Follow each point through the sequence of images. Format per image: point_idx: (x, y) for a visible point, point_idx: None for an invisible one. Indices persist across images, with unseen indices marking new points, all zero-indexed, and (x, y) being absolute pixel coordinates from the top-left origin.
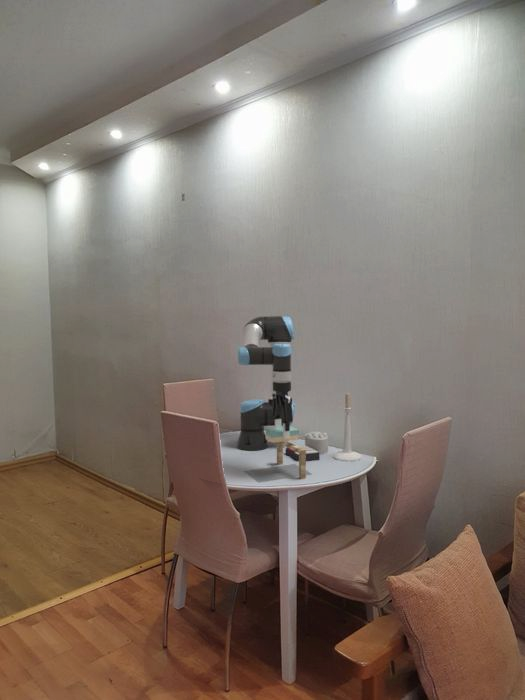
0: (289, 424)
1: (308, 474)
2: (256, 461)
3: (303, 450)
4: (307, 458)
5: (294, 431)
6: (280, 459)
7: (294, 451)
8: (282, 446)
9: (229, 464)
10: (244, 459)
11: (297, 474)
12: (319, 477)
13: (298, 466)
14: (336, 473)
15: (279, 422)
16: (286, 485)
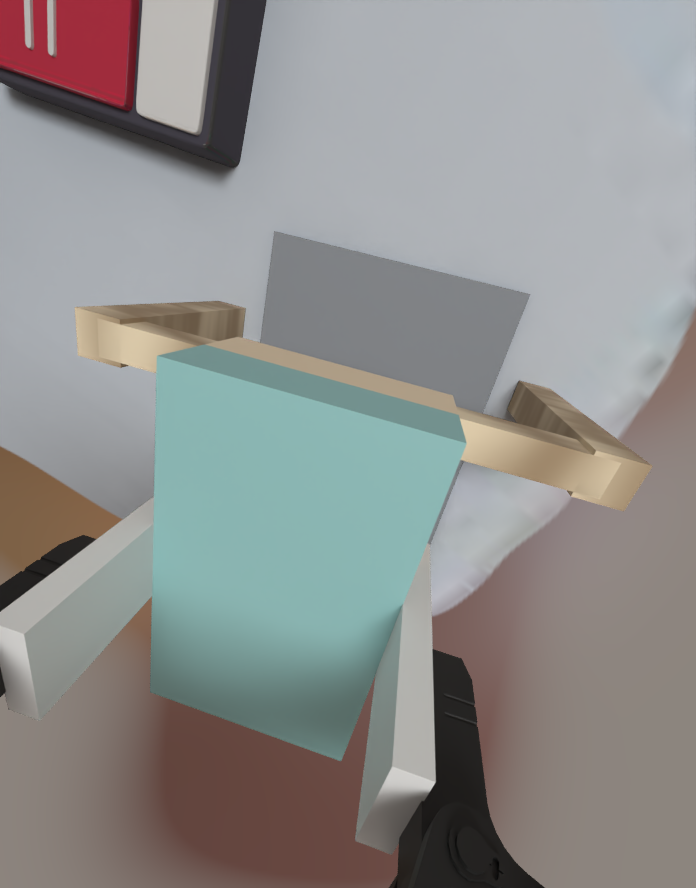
0: (485, 792)
1: (512, 321)
2: (111, 380)
3: (635, 487)
4: (244, 53)
5: (433, 513)
6: (224, 328)
7: (122, 103)
8: (171, 317)
9: (107, 505)
10: (57, 405)
11: (459, 377)
12: (599, 288)
13: (336, 251)
14: (657, 87)
15: (85, 612)
16: (533, 528)
